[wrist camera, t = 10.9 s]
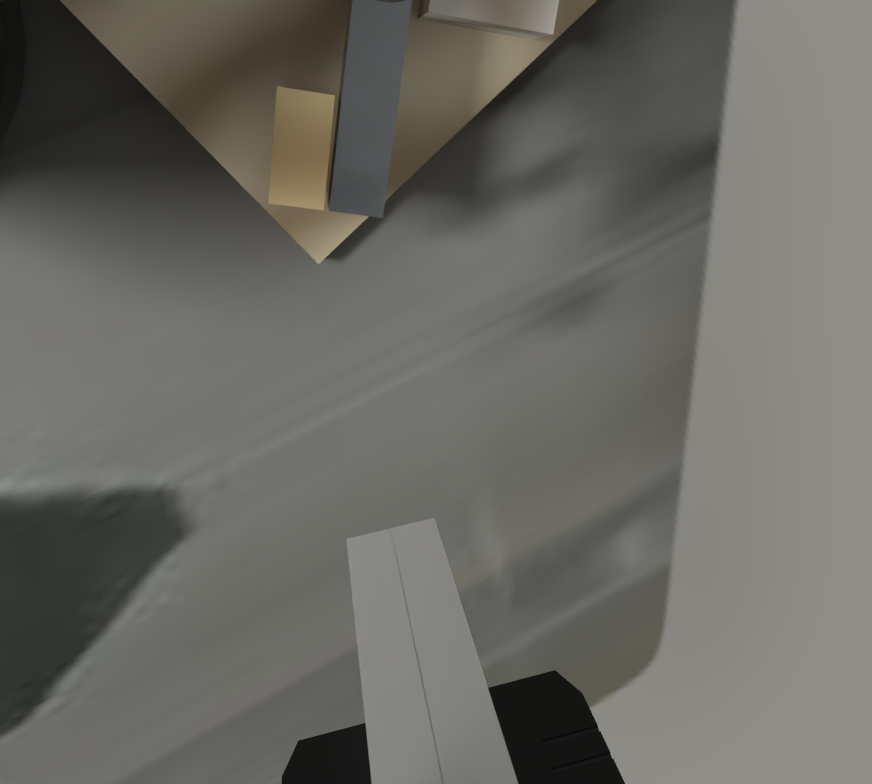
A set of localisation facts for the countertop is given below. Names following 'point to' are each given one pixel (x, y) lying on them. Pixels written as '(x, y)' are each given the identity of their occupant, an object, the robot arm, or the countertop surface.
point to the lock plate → (315, 84)
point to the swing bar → (368, 105)
